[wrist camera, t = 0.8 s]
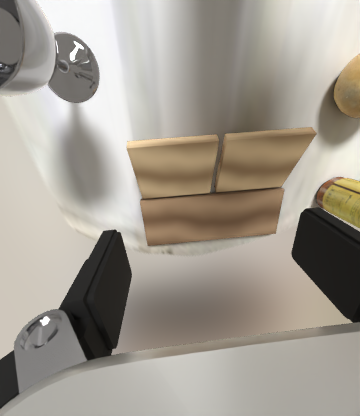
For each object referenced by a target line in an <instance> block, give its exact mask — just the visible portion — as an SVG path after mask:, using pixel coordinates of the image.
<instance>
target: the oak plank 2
mask: <svg viewBox="0 0 360 416" xmlns="http://www.w3.org/2000/svg"><path fill="white" fill-rule="evenodd" d="M316 134H317V133H316V132H315V131H314V129H313V128H312V127H306V128H293V129H280V130H267V131H254V132H241V133H228V134H225V136H224V141H223V146H222V151H221V156H220V161H219V166H218V171H217V176H216V181H215V186H214V187H215V191H216V192H226V191H237V190H249V189H260V188H272V187H281V186H282V185H283V183H284V182H285V180H286V179H287V177H288V176H289V174H290V173H291V171H292V170H293V168H294V167H295V165H296V164H297V162H298V161H299V159H300V158H301V156H302V155H303V153H304V152H305V150H306V149H307V147H308V146H309V144H310V143H311V141H312V140H313V138H314V137H315V135H316Z"/></svg>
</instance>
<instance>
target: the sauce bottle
mask: <svg viewBox="0 0 360 416" xmlns="http://www.w3.org/2000/svg"><path fill="white" fill-rule="evenodd" d="M316 199H317V202H318V204H319V206H320V207H322V208H324V209H325V210H326V211H328V212H330V213H332V214H334V215H335V216H337V217H339V218H341V219H343V220H345V221H347V222H349V223H351V224H353V225H354V226H356V227H358V228H360V181H357V180H353V179H349V178H343V177H336V178H333V179H331V180H329V181H327V182H325V183H324V184H323V185H322V186H321V188H320V189H319V191H318V193H317V197H316Z"/></svg>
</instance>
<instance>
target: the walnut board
mask: <svg viewBox="0 0 360 416" xmlns="http://www.w3.org/2000/svg"><path fill="white" fill-rule="evenodd" d="M283 194H284V189H282V188H281V187H272V188H260V189H249V190H237V191H226V192H214V193H203V194H192V195H180V196H169V197H157V198H146V199H141V201H140V205H141V211H142V216H143V222H144V227H145V233H146V239H147V244H148V246H150V245H161V244H171V243H182V242H192V241H203V240H213V239H223V238H234V237H244V236H255V235H265V234H276V229H277V224H278V219H279V214H280V209H281V204H282V199H283Z"/></svg>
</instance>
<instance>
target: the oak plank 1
mask: <svg viewBox="0 0 360 416" xmlns="http://www.w3.org/2000/svg"><path fill="white" fill-rule="evenodd" d="M218 145H219V139H218V136H217V134H215V135H202V136H189V137H176V138H163V139H150V140H137V141H127V151H128V154H129V157H130V160H131V163H132V167H133V170H134V173H135V176H136V179H137V182H138V185H139V189H140V192H141V195H142V198H143V199H146V198H157V197H169V196H180V195H192V194H203V193H210V189H211V184H212V178H213V173H214V167H215V162H216V156H217V151H218Z"/></svg>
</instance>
